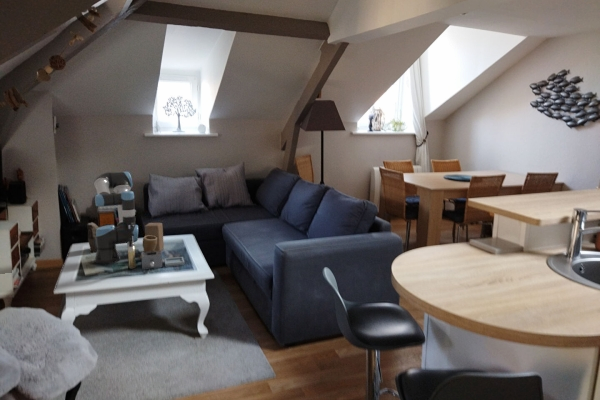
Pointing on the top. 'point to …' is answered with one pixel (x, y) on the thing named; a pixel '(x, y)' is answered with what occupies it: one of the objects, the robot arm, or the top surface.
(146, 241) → the stone cup
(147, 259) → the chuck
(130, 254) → the cylindrical container
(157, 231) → the wooden block
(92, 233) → the owl
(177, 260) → the tray
